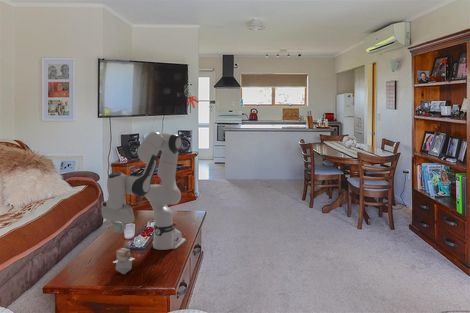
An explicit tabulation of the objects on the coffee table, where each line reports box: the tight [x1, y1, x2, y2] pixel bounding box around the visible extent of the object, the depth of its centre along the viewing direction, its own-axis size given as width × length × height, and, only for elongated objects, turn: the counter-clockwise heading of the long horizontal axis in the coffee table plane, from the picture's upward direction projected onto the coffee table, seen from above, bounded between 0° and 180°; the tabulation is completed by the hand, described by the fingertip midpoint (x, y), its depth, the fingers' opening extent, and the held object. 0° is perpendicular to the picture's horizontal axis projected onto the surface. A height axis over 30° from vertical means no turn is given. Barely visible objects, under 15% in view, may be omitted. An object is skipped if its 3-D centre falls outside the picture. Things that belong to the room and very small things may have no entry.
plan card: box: [112, 256, 136, 264], centre depth 222 cm, size 10×8×1 cm
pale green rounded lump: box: [113, 221, 125, 234], centre depth 204 cm, size 5×5×5 cm
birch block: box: [115, 247, 131, 262], centre depth 206 cm, size 5×5×5 cm
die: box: [115, 259, 133, 275], centre depth 207 cm, size 8×9×10 cm
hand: (118, 228), depth 204 cm, fingers closed on pale green rounded lump, 5 cm apart
